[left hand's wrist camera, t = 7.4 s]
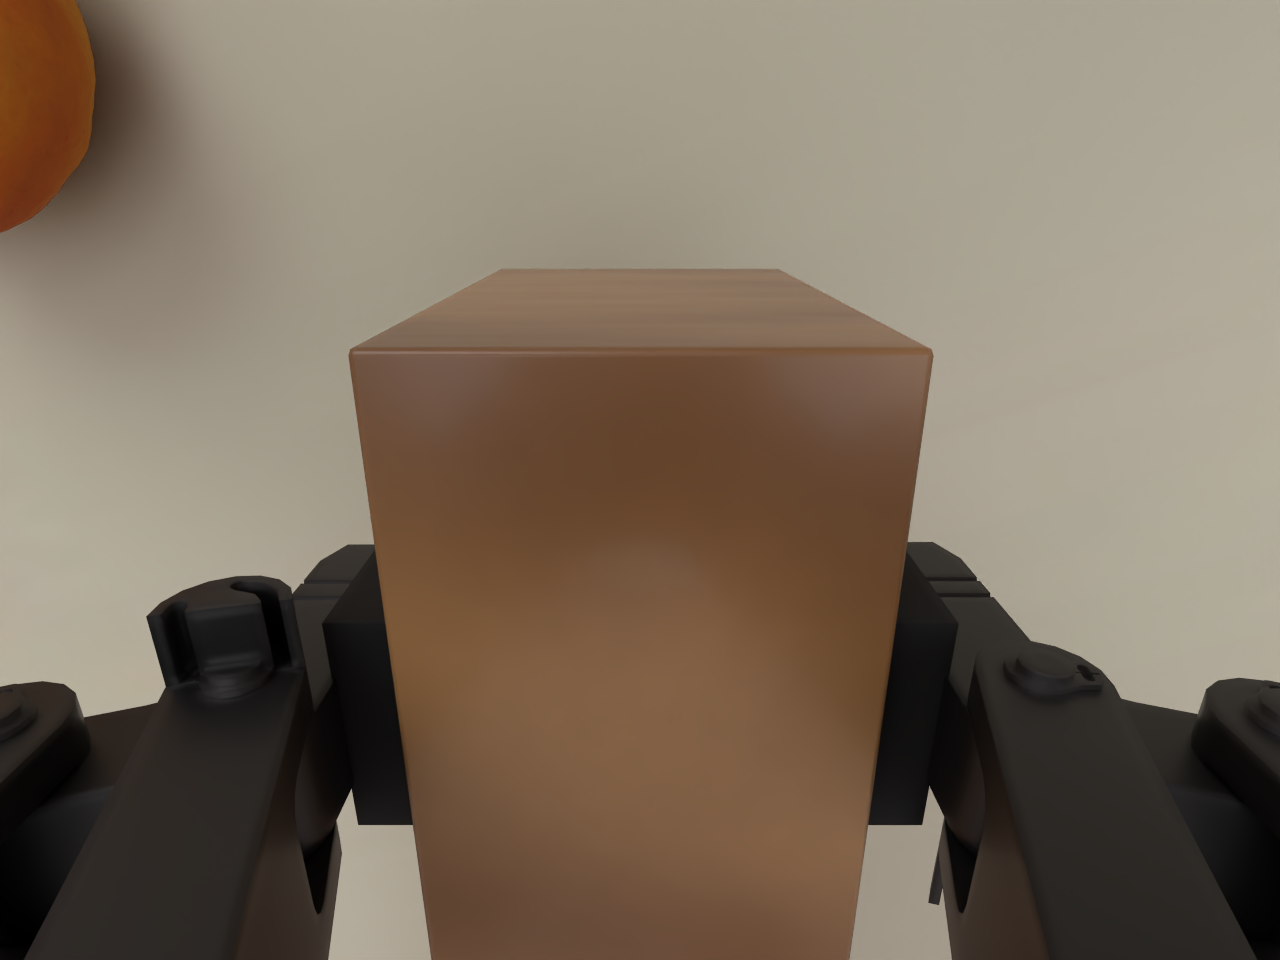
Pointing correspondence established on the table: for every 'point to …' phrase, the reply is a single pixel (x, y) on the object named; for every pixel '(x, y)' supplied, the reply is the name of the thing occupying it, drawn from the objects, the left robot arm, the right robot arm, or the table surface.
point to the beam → (640, 604)
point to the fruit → (41, 102)
